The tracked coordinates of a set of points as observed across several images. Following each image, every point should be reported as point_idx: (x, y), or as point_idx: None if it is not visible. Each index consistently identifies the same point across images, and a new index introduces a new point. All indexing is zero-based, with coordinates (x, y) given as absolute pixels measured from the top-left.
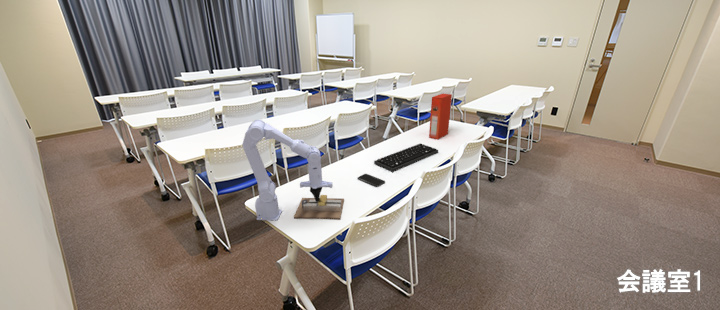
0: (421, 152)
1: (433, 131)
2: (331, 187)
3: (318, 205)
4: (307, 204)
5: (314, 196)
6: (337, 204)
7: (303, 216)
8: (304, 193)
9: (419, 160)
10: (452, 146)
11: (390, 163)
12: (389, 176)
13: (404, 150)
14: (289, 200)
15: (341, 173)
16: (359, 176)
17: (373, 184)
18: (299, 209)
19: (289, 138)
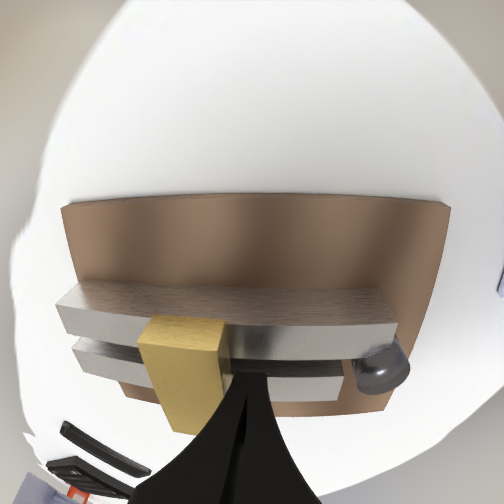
0: (61, 474)
1: (78, 499)
2: (28, 477)
3: (224, 320)
4: (356, 342)
5: (268, 429)
6: (80, 329)
7: (375, 207)
8: (366, 434)
9: (56, 460)
10: (42, 463)
11: (87, 479)
12: (71, 446)
13: (93, 492)
14: (446, 382)
15: None
16: (147, 475)
17: (80, 435)
18: (411, 306)
19: None
